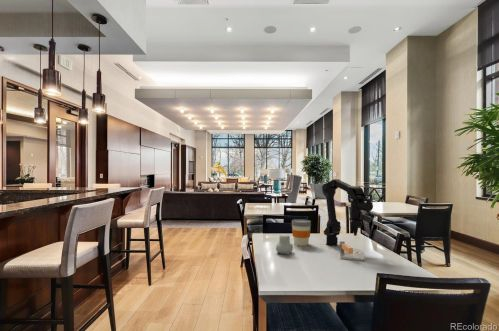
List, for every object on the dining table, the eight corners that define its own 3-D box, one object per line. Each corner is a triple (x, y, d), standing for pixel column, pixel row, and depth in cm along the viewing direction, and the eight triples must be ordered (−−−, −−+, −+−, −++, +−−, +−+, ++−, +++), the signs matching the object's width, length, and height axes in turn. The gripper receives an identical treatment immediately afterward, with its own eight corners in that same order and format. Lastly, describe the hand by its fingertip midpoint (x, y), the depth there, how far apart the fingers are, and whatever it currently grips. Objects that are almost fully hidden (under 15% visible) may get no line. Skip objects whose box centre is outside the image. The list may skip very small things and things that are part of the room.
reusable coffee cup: (313, 243, 186) (313, 220, 186) (306, 247, 175) (306, 223, 176) (296, 240, 193) (296, 218, 193) (288, 244, 182) (288, 221, 182)
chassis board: (340, 258, 152) (340, 253, 152) (339, 249, 171) (339, 244, 172) (364, 261, 149) (364, 255, 149) (361, 251, 168) (361, 246, 168)
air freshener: (289, 256, 156) (289, 238, 157) (275, 254, 159) (275, 236, 159) (293, 251, 167) (293, 234, 167) (279, 249, 169) (279, 233, 170)
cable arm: (338, 247, 163) (338, 241, 163) (343, 247, 163) (343, 241, 163) (348, 253, 150) (348, 247, 150) (353, 253, 150) (353, 247, 150)
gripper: (372, 212, 152) (372, 240, 152) (368, 207, 170) (368, 233, 170) (350, 210, 156) (350, 239, 155) (349, 206, 173) (349, 231, 173)
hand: (355, 235), depth 163 cm, fingers closed
